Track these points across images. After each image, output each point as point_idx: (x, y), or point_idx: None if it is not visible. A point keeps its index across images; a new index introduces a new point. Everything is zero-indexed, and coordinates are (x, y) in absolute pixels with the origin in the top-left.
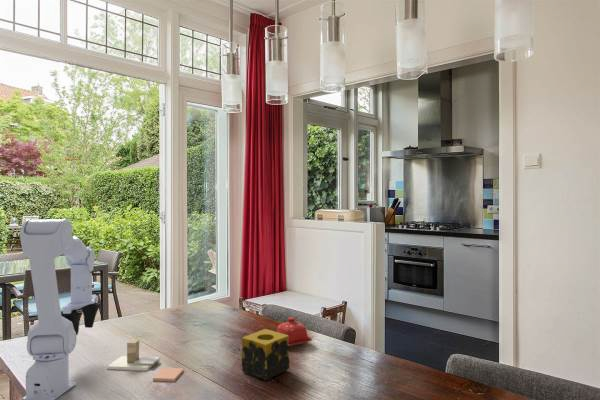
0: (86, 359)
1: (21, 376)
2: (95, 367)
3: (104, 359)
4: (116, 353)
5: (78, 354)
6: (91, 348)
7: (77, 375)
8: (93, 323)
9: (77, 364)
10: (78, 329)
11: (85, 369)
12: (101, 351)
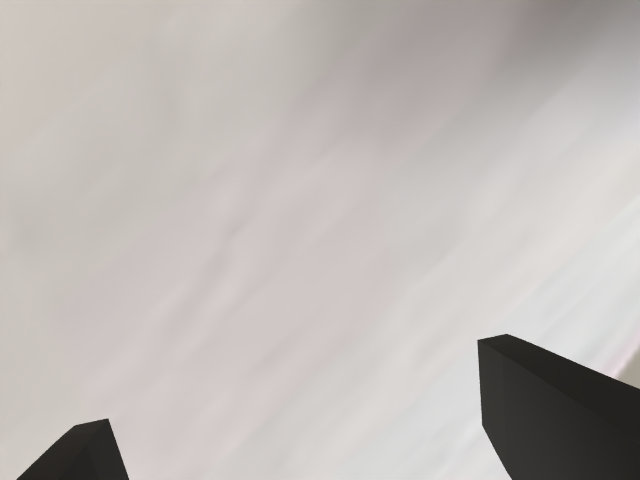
0: (227, 260)
1: None
2: (356, 54)
3: (180, 106)
4: (9, 98)
5: (157, 398)
6: (4, 407)
7: (518, 84)
8: (42, 457)
9: (333, 249)
10: (532, 365)
11: (408, 109)
12: (27, 276)
